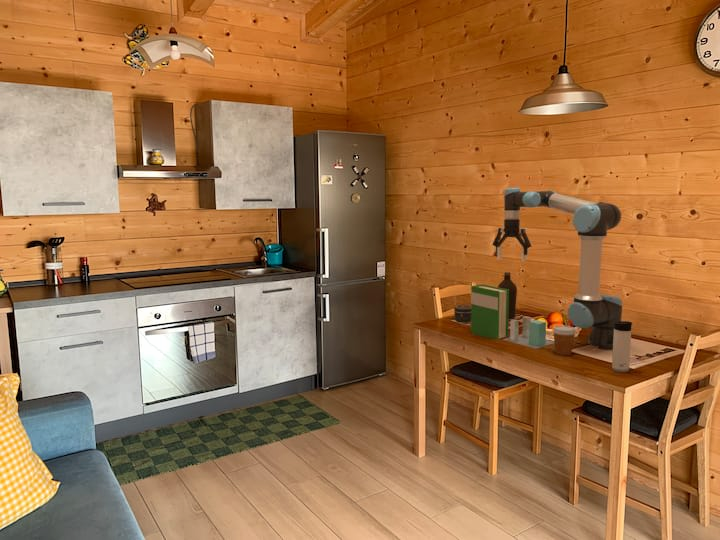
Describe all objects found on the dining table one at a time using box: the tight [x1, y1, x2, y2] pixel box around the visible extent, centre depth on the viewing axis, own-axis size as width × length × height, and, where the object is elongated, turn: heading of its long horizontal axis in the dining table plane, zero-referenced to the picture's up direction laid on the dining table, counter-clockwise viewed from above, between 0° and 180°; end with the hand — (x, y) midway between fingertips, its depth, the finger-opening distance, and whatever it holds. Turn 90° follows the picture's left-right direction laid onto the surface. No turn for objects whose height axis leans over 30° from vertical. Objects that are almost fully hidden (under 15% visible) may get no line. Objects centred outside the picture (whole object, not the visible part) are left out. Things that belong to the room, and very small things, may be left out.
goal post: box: [519, 316, 531, 339], centre depth 269 cm, size 4×4×10 cm
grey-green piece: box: [529, 319, 547, 347], centre depth 257 cm, size 5×5×11 cm
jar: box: [453, 304, 471, 323], centre depth 307 cm, size 10×10×8 cm
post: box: [507, 319, 521, 343], centre depth 264 cm, size 4×4×10 cm
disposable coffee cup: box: [552, 324, 577, 356], centre depth 243 cm, size 10×10×12 cm
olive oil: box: [497, 271, 518, 320], centre depth 311 cm, size 11×11×25 cm
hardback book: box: [470, 284, 509, 340], centre depth 274 cm, size 18×7×24 cm, turn 33°
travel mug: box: [611, 320, 633, 373], centre depth 222 cm, size 6×7×20 cm
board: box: [501, 333, 555, 349], centre depth 263 cm, size 19×15×1 cm
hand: (511, 260), depth 286 cm, fingers open, 13 cm apart
